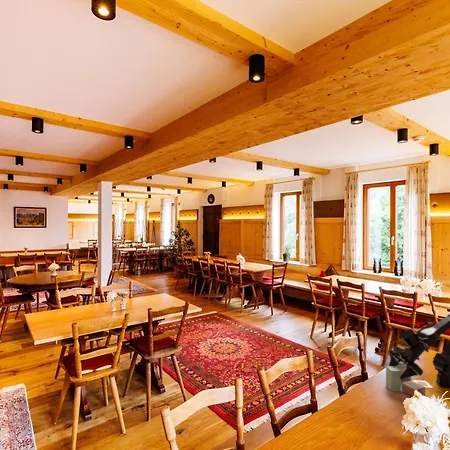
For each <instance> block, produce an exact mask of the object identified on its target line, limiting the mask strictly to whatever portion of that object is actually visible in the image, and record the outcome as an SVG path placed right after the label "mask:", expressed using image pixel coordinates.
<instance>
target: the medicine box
mask: <svg viewBox="0 0 450 450" xmlns="http://www.w3.org/2000/svg"><path fill="white" fill-rule="evenodd" d="M399 363H400V364H398V365H397V366H396V367H397V368H398V369H400V370H401V375H402V374H403V372H404V371H405V370H406V366H407V365H406V364H405V363H403V362H399ZM405 380H412V377H408V378H405Z"/></svg>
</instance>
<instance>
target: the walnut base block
mask: <svg viewBox="0 0 450 450" xmlns="http://www.w3.org/2000/svg"><path fill="white" fill-rule="evenodd" d="M412 380H413V379H410V380H408V381H405V382H401V391H402V392H404V393H406V394H407V395H409V396H412V397H413V395H414V391H415V390H417V391H418V392H420V393H421V394H422V396H425V395H426V393H425V392H426V388H425V387H424V386H422V385H420V384H418V383H416V382H414V381H412Z"/></svg>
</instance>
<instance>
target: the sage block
mask: <svg viewBox="0 0 450 450" xmlns="http://www.w3.org/2000/svg"><path fill="white" fill-rule="evenodd" d="M385 366H386V367H385V368H386V369H385V386H386V388H388V389H389V390H390V391H393V392H394V391H396V392H400V391H402V380H401V379H400V376H401V370H400V369H398V368H397V367H396V366H389V365H388V366H387V365H385Z"/></svg>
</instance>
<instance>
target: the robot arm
mask: <svg viewBox="0 0 450 450" xmlns="http://www.w3.org/2000/svg"><path fill="white" fill-rule="evenodd" d="M448 330H450V313H448V314H447V315H446V317H444V318H442V319H441V320H440V321H438V322H437V323H435V324H434V325H433V326H432V327H431V326H430V327H428V328H425V329H422V330H420V331H418V332H415V331H414V330H413V329H412V328H408V329H405V330H403V331H401V332H400V339H402V340H403V342H405V344H407V346H409V347H408V348H407V347H404V348H402V347H400V346H398V345H395V346H394V349H390V350H389V351H388V356H389V358H390V359H389V363H388V366H397V365H398V364H400V363H399V362H403V363H405V364H406V365H407V366H406V370H405V371H404V372H403V374H402V375H401V376H400V379H401V381H403V380H404V379H405V378H408V377H411V378H412V377H415V376H419V377H422V375H423V373H424V370H423V369H422V368H421V366H420V365H419V364H418V363H415V362H416V361H420V356H421V355H422V354H423V353H424V352H427V353H429V352H430V351H429V346H434V345H435V344H436V343H437V342H438V341H439V339H440V338H439V337H440V336H441V335H443V334H444V333H446V332H447V331H448ZM432 364H433V366H434V367H433V368H434V369H435V371H437V374H436V380H435V382H436V383H437V384H438V385H439V386H440V387H442V388H447V389H450V340H449V341H448V343H447V345H446V346H445V348H444V350H443V351H442V352H440V353H439V352H436V353H435V356H434V357H433V358H432ZM405 380H406V379H405Z"/></svg>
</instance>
